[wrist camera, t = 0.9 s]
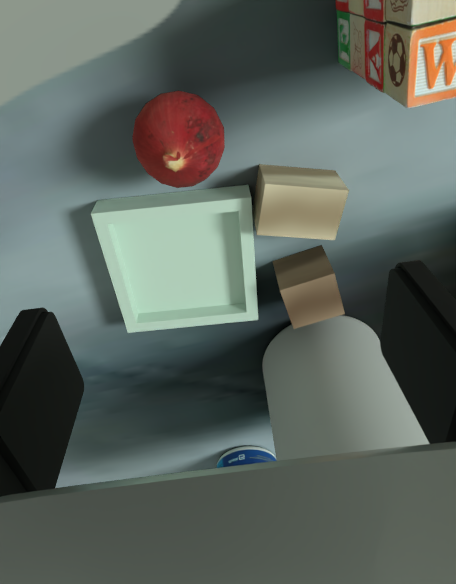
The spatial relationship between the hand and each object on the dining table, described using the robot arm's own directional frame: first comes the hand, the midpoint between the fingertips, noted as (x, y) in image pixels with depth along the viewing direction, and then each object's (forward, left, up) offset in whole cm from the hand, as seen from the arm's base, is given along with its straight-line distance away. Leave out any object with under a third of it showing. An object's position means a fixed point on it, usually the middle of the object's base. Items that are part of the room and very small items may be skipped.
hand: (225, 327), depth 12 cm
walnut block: (+14, +7, -23) cm, 28 cm away
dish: (+11, -4, -22) cm, 25 cm away
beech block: (+6, +6, -23) cm, 24 cm away
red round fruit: (0, -2, -23) cm, 23 cm away
